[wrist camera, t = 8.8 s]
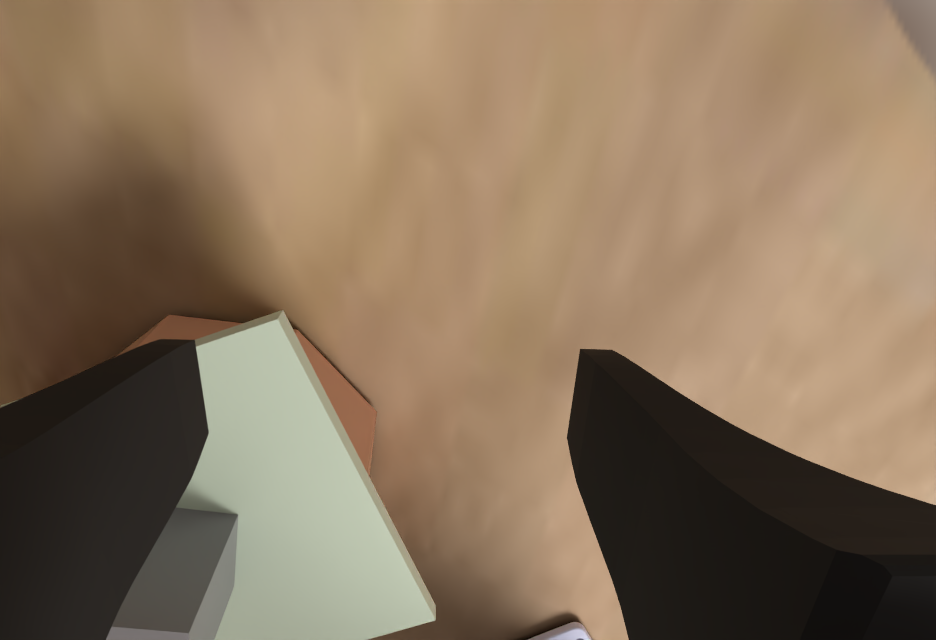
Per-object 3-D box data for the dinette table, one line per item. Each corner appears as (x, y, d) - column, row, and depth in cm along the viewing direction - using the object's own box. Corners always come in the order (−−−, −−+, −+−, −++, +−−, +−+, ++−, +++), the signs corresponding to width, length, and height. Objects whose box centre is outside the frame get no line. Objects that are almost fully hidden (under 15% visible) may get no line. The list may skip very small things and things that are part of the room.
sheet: (435, 605, 21) (436, 744, 17) (128, 693, 22) (55, 845, 18) (282, 309, 16) (229, 403, 12) (-105, 441, 17) (-281, 570, 13)
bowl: (426, 457, 24) (425, 551, 20) (237, 577, 26) (196, 687, 22) (237, 259, 20) (181, 320, 16) (33, 419, 23) (-67, 513, 18)
